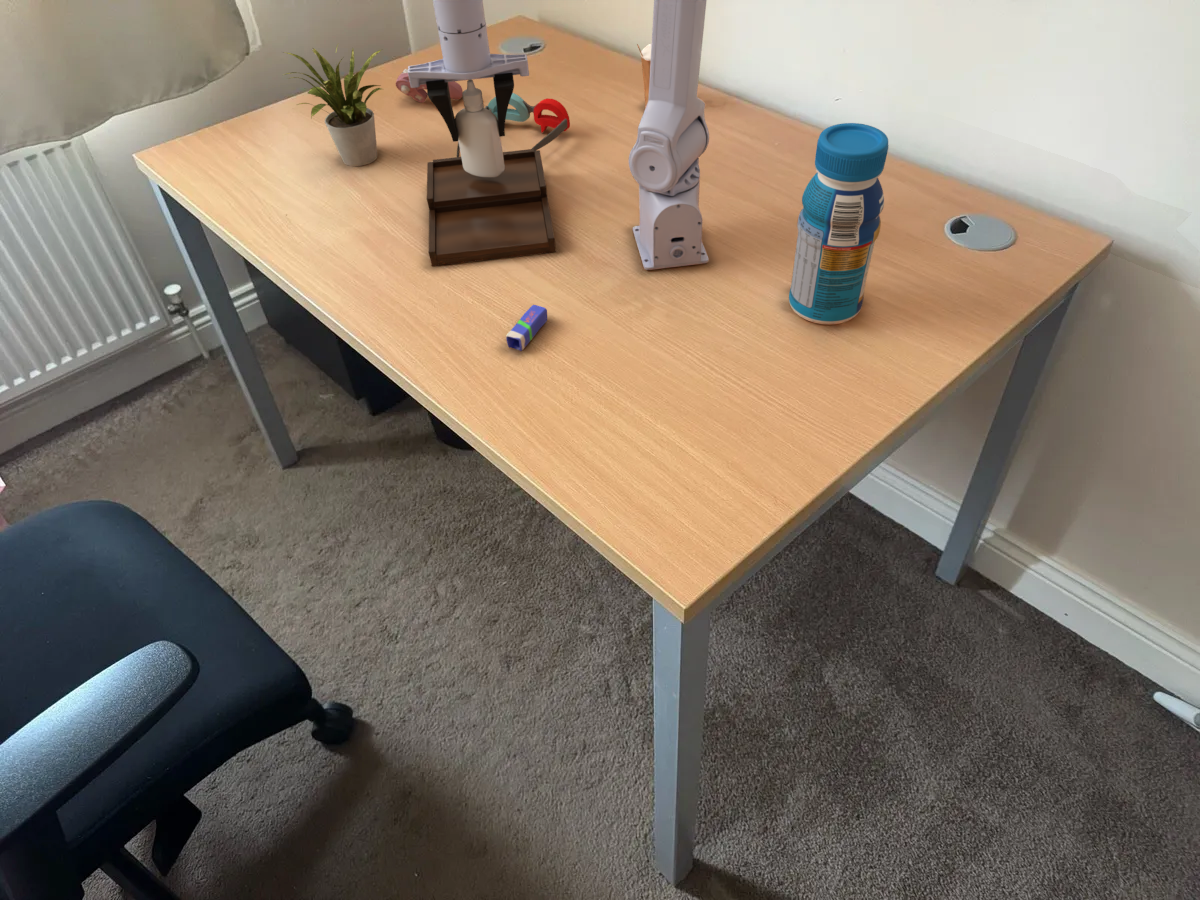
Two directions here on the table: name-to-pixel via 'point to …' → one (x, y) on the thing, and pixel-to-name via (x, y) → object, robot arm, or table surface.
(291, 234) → the table surface
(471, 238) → the step shelf
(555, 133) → the novelty glasses
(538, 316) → the eraser
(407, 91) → the video game controller
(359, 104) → the house plant
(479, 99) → the eye dropper bottle
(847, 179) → the beverage bottle
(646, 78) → the frothy drink cup
